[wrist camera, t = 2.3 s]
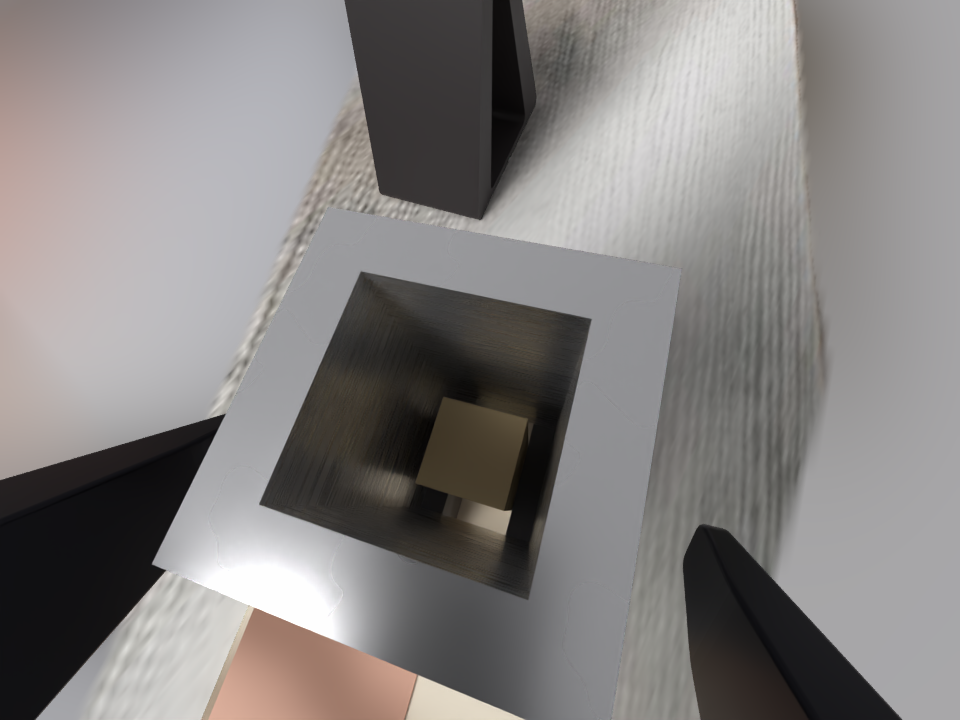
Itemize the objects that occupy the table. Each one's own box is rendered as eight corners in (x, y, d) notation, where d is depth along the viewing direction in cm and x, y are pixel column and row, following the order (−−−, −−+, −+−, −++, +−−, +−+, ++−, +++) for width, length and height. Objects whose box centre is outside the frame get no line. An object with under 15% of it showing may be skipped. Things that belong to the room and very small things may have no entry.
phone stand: (445, 86, 25) (380, -249, 14) (537, 103, 24) (544, -253, 13) (381, 197, 23) (239, -104, 12) (479, 223, 21) (424, -89, 10)
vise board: (519, 906, 12) (503, 1608, 4) (212, 748, 15) (-160, 1029, 7) (614, 411, 17) (687, 327, 9) (371, 350, 20) (263, 242, 12)
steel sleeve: (555, 591, 11) (605, 752, 4) (379, 531, 12) (151, 564, 5) (593, 407, 13) (682, 268, 5) (435, 368, 14) (328, 206, 7)
